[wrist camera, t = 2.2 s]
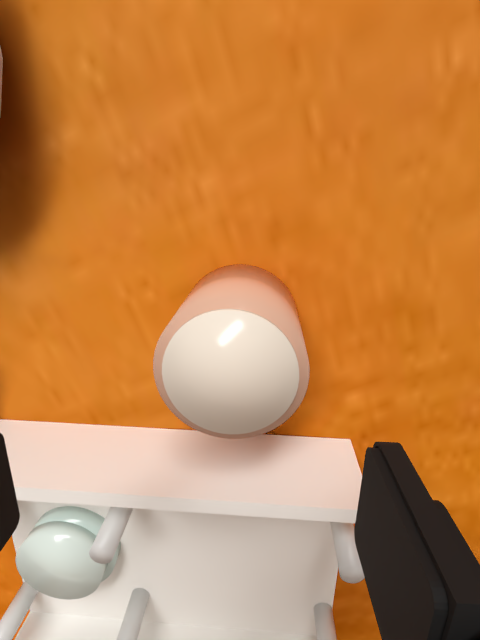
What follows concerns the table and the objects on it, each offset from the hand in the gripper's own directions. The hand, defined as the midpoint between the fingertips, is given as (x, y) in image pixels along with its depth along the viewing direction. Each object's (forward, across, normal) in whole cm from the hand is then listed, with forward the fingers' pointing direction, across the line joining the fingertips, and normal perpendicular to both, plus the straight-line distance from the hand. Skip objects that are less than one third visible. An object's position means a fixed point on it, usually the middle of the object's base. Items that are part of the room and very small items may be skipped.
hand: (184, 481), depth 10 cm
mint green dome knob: (+11, +9, +15) cm, 20 cm away
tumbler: (+11, -1, 0) cm, 11 cm away
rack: (+12, +3, +14) cm, 19 cm away
